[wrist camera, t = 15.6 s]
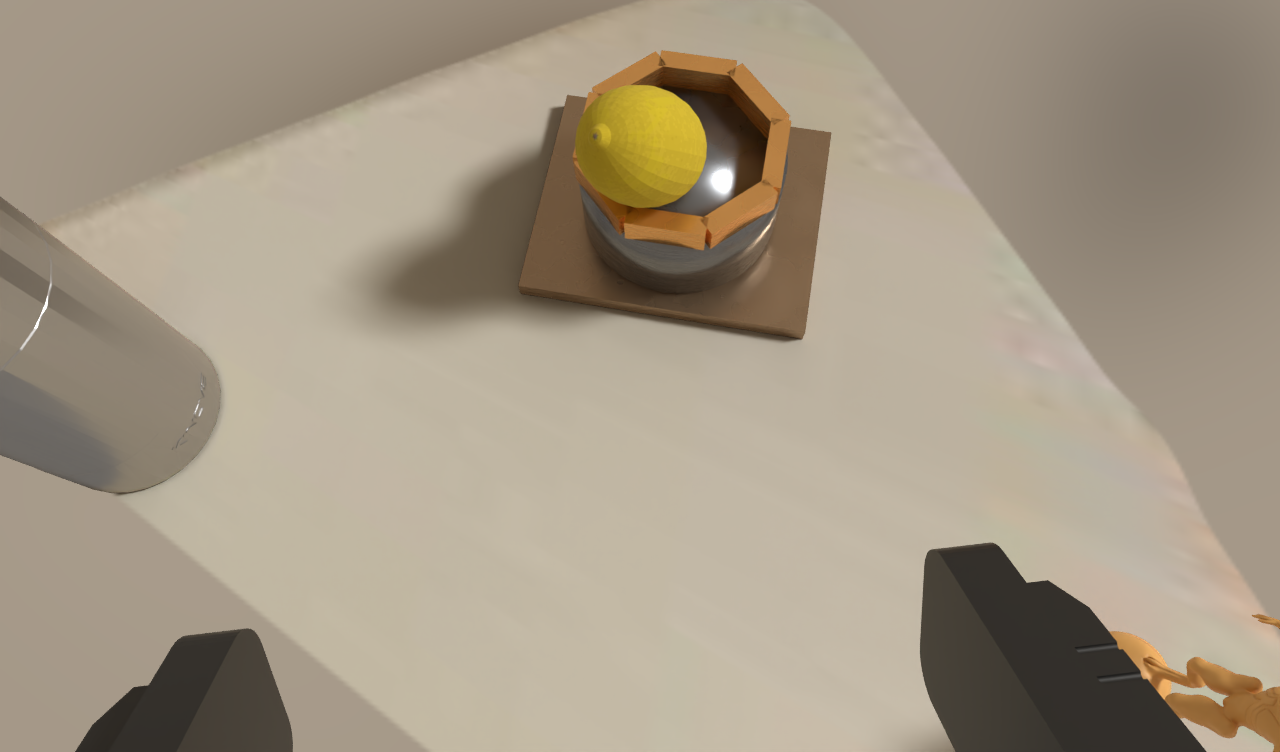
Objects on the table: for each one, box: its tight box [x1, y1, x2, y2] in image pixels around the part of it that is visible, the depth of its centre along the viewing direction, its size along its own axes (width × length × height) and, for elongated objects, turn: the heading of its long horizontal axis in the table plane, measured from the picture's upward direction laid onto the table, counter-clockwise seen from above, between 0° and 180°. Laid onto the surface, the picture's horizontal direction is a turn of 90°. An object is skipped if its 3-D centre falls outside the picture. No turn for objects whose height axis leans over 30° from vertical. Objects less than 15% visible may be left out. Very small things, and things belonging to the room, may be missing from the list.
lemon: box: [575, 85, 707, 208], centre depth 41 cm, size 6×6×8 cm
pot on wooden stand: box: [518, 50, 831, 339], centre depth 47 cm, size 16×13×8 cm
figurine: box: [1110, 614, 1280, 752], centre depth 36 cm, size 8×6×12 cm
